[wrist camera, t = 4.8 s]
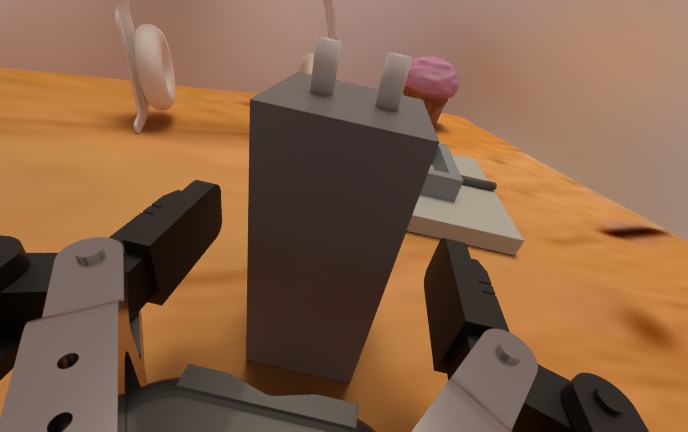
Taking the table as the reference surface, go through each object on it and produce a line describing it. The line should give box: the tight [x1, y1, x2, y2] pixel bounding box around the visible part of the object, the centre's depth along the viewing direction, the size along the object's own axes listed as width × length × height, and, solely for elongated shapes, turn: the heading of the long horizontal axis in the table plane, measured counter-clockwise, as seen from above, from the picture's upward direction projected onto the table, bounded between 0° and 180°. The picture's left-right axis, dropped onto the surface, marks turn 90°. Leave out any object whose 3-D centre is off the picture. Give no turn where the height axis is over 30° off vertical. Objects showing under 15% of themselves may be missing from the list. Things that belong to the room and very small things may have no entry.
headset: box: [115, 0, 337, 133], centre depth 30 cm, size 20×7×18 cm, turn 106°
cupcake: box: [403, 56, 459, 125], centre depth 49 cm, size 9×9×10 cm
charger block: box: [246, 37, 439, 384], centre depth 12 cm, size 5×5×12 cm
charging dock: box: [407, 144, 524, 256], centre depth 30 cm, size 18×16×4 cm
